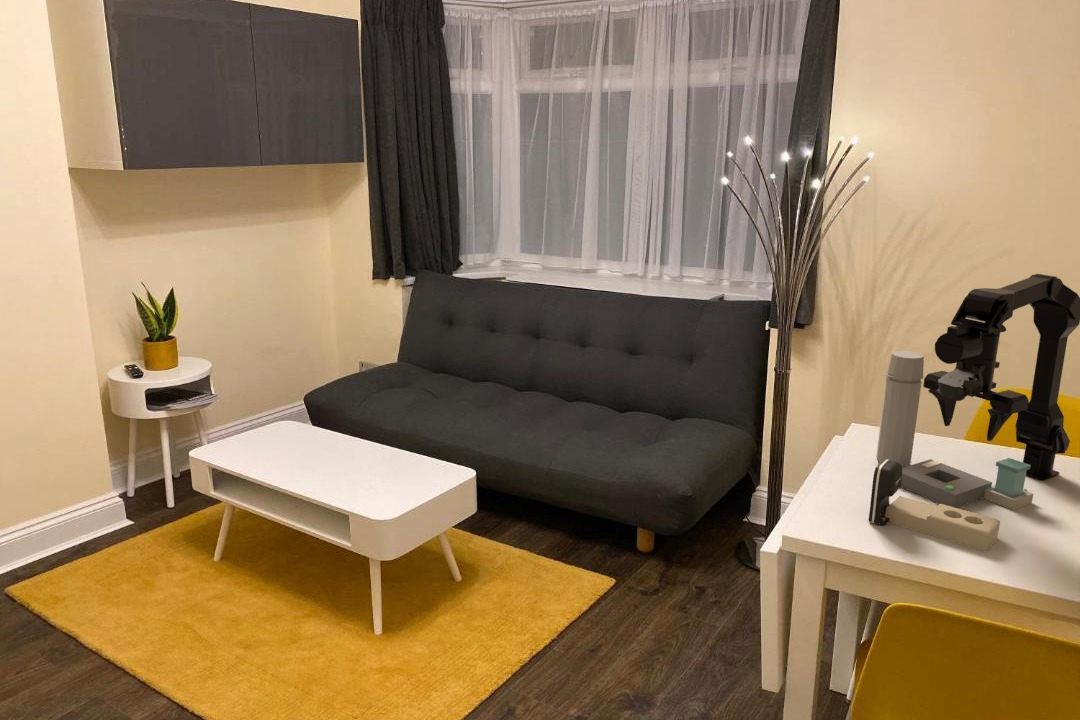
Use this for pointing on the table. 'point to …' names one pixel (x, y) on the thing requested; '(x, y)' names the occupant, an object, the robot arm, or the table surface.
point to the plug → (1011, 477)
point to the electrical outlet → (945, 522)
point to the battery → (884, 489)
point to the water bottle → (900, 406)
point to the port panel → (943, 483)
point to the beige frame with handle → (1008, 498)
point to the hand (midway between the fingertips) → (967, 433)
